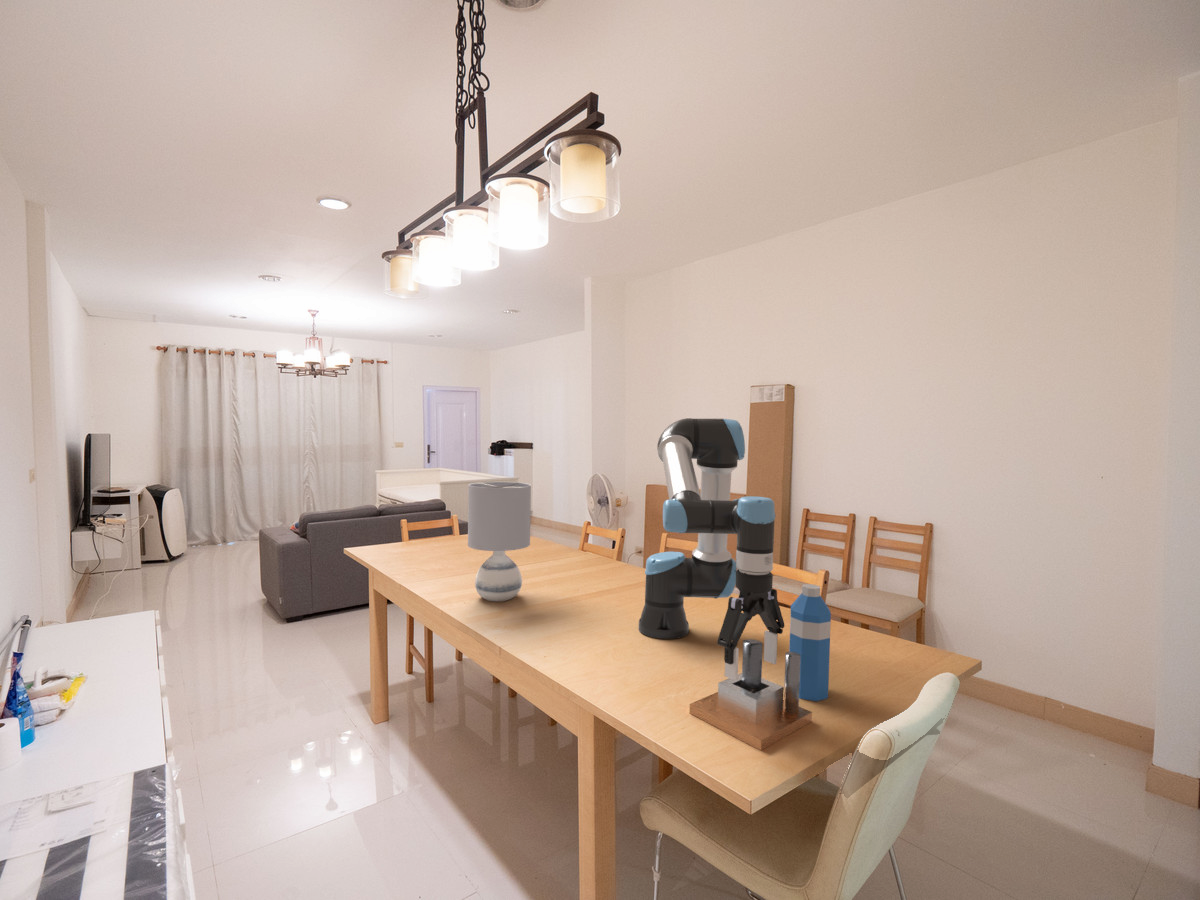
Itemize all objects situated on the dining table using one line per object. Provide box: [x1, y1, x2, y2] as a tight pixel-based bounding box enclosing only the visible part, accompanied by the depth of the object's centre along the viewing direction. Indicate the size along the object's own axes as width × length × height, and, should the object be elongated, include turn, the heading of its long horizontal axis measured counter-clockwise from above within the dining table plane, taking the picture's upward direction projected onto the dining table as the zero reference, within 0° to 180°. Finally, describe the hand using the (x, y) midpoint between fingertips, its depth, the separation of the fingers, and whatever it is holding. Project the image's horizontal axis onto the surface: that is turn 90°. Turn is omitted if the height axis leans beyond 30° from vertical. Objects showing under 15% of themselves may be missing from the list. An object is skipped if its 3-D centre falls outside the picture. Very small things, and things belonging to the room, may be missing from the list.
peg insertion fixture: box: [688, 651, 813, 751], centre depth 121 cm, size 18×18×14 cm
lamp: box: [467, 481, 532, 603], centre depth 202 cm, size 22×22×40 cm
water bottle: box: [788, 583, 832, 702], centre depth 133 cm, size 9×9×25 cm
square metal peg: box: [741, 638, 764, 693], centre depth 121 cm, size 4×4×14 cm
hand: (751, 669), depth 121 cm, fingers open, 13 cm apart
